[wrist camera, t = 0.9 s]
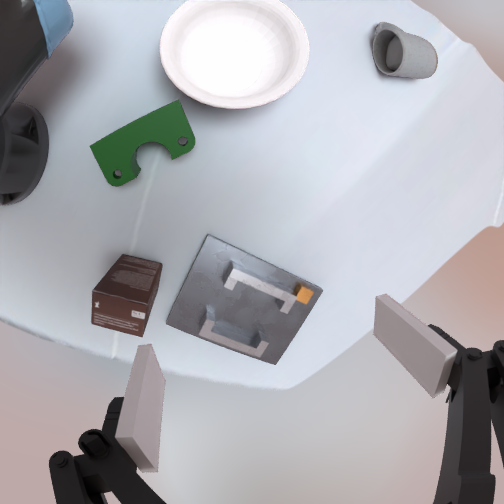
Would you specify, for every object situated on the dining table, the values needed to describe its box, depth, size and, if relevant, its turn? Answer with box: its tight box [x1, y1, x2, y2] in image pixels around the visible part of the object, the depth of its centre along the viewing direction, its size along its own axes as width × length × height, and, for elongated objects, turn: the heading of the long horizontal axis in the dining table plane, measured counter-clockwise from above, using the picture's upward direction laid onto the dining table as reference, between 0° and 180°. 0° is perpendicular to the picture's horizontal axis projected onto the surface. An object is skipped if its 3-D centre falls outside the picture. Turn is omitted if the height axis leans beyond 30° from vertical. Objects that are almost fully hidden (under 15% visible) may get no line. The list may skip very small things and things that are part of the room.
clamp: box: [90, 100, 195, 186], centre depth 31 cm, size 12×6×9 cm, turn 107°
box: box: [91, 254, 162, 337], centre depth 32 cm, size 6×4×12 cm
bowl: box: [159, 0, 310, 109], centre depth 29 cm, size 16×16×8 cm
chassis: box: [166, 234, 323, 365], centre depth 40 cm, size 18×14×4 cm
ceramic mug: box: [372, 22, 438, 79], centre depth 31 cm, size 11×8×8 cm
